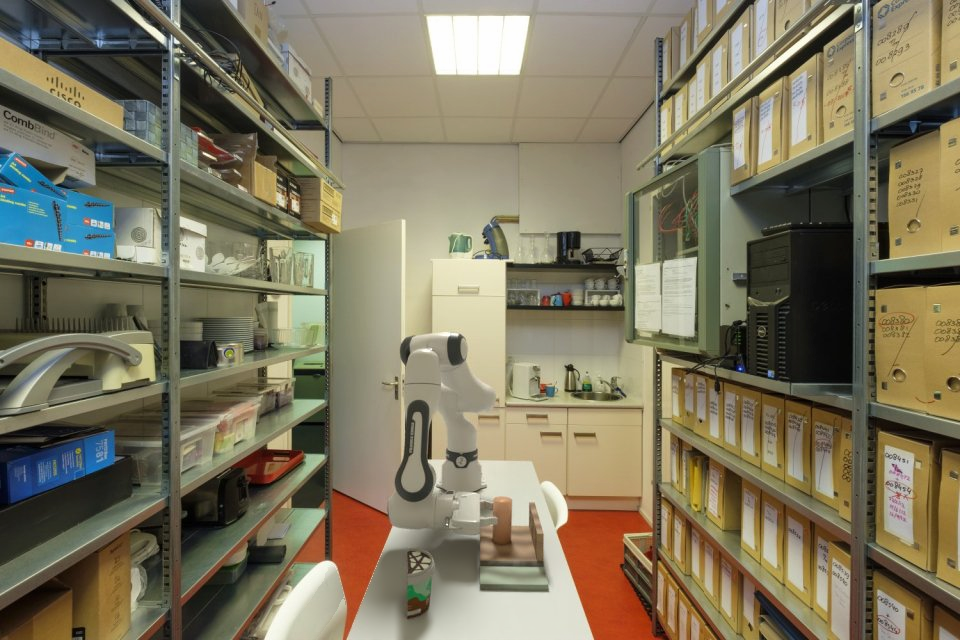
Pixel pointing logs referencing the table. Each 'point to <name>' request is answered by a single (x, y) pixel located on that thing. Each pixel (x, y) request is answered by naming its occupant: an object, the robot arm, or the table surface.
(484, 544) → the brown wooden l-shaped board
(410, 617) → the food container
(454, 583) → the table surface
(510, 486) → the table surface
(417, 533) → the table surface
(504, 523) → the peach cylinder
